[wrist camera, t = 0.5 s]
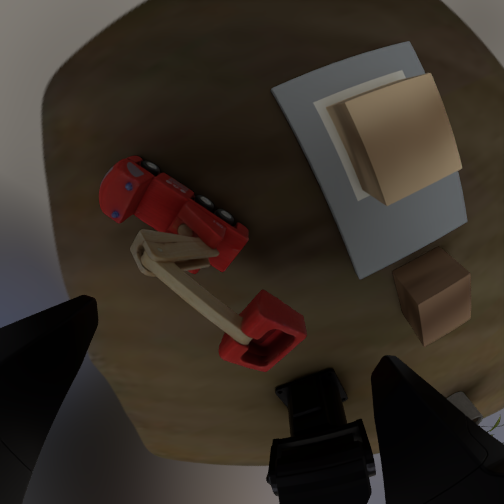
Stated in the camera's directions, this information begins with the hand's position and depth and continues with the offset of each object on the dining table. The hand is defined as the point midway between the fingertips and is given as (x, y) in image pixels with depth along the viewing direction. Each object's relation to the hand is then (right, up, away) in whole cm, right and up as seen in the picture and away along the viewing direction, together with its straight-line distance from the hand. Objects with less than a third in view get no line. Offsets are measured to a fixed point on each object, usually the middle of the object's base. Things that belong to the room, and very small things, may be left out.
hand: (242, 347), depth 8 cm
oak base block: (+9, +11, +8) cm, 16 cm away
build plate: (+10, +9, +10) cm, 17 cm away
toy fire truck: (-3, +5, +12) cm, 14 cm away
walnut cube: (+15, 0, +14) cm, 21 cm away
